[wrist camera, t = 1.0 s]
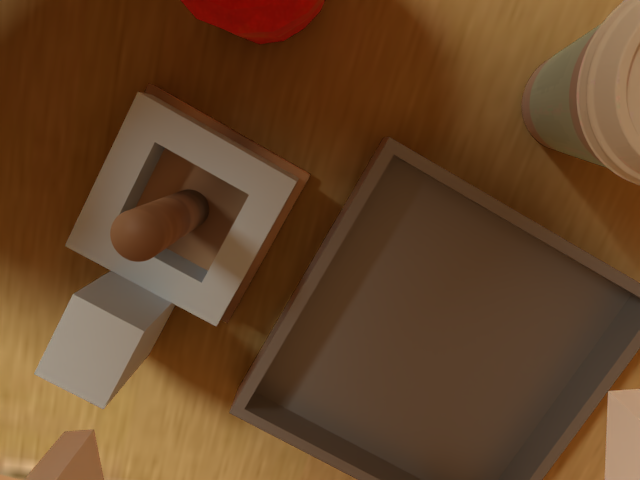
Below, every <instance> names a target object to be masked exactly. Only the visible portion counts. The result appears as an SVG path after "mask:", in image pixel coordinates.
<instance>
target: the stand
mask: <svg viewBox="0 0 640 480" xmlns="http://www.w3.org/2000/svg"><path fill="white" fill-rule="evenodd" d="M144 93H146V94H150V95H153V96H155V97H157V98H159V99H160V100H162V101H164V102H166V103H168V104H169V105H171V106H173V107H175V108H176V109H178V110H180V111H182V112H183V113H185V114H187V115H189V116H190V117H192V118H194V119H196V120H198V121H199V122H201V123H203V124H205V125H206V126H208V127H210V128H212V129H213V130H215V131H217V132H219V133H220V134H222V135H224V136H226V137H227V138H229V139H231V140H233V141H235V142H236V143H238V144H240V145H242V146H243V147H245V148H247V149H249V150H250V151H252V152H254V153H256V154H257V155H259V156H261V157H263V158H265V159H266V160H268V161H270V162H272V163H273V164H275V165H277V166H279V167H280V168H282V169H284V170H286V171H287V172H289V173H291V174H293V175H294V176H296V177H298V178H299V180H298V181H297V183H296V185H295V187H294V189H293V190H292V192H291V194H290V196H289V198H288V199H287V201H286V203H285V205H284V207H283V208H282V210H281V212H280V214H279V216H278V217H277V219H276V221H275V223H274V225H273V226H272V228H271V230H270V232H269V234H268V235H267V237H266V239H265V241H264V243H263V244H262V246H261V248H260V250H259V252H258V253H257V255H256V257H255V259H254V261H253V262H252V264H251V266H250V268H249V270H248V271H247V273H246V275H245V277H244V279H243V280H242V282H241V284H240V286H239V288H238V289H237V291H236V293H235V295H234V297H233V298H232V300H231V302H230V304H229V306H228V307H227V309H226V311H225V313H224V314H223V316H222V318H221V320H222V321H224V322H226V323H228V322H229V320H230V318H231V316H232V314H233V313H234V311H235V309H236V307H237V305H238V304H239V302H240V300H241V298H242V296H243V295H244V293H245V291H246V289H247V288H248V286H249V284H250V282H251V280H252V279H253V277H254V275H255V273H256V271H257V270H258V268H259V266H260V264H261V262H262V261H263V259H264V257H265V255H266V254H267V252H268V250H269V248H270V246H271V245H272V243H273V241H274V239H275V237H276V236H277V234H278V232H279V230H280V229H281V227H282V225H283V223H284V221H285V220H286V218H287V216H288V214H289V212H290V211H291V209H292V207H293V205H294V203H295V202H296V200H297V198H298V196H299V195H300V193H301V191H302V189H303V187H304V186H305V184H306V182H307V180H308V178H309V177H310V175H311V174H310V173H308V172H306V171H304V170H303V169H301V168H299V167H297V166H296V165H294V164H292V163H290V162H289V161H287V160H285V159H283V158H282V157H280V156H278V155H276V154H275V153H273V152H271V151H269V150H267V149H266V148H264V147H262V146H260V145H259V144H257V143H255V142H253V141H252V140H250V139H248V138H246V137H245V136H243V135H241V134H239V133H238V132H236V131H234V130H232V129H231V128H229V127H227V126H225V125H224V124H222V123H220V122H218V121H217V120H215V119H213V118H211V117H209V116H208V115H206V114H204V113H202V112H201V111H199V110H197V109H195V108H194V107H192V106H190V105H188V104H187V103H185V102H183V101H181V100H180V99H178V98H176V97H174V96H173V95H171V94H169V93H167V92H166V91H164V90H162V89H160V88H159V87H157V86H155V85H153V84H150V83H149V84H148V86H147V88H146V90H145V92H144ZM248 196H249V194H247V193H245V192H243V191H241V190H240V189H238V188H236V187H234V186H233V185H231V184H229V183H227V182H225V181H224V180H222V179H220V178H218V177H216V176H215V175H213V174H211V173H209V172H208V171H206V170H204V169H202V168H200V167H199V166H197V165H195V164H193V163H191V162H190V161H188V160H186V159H184V158H182V157H181V156H179V155H177V154H175V153H174V152H172V151H170V150H168V149H166V148H165V149H164V151H163V153H162V155H161V157H160V159H159V161H158V163H157V165H156V167H155V169H154V171H153V173H152V175H151V177H150V179H149V181H148V183H147V185H146V187H145V189H144V191H143V193H142V195H141V197H140V199H139V201H138V203H137V205H136V207H135V208H133V209H130V210H127V211H125V212H123V213H121V214H120V215H118V216H117V217H116V218H115V220H114V221H113V223H112V226H111V230H110V238H111V242H112V245H113V247H114V248H115V250H116V251H117V252H118V253H119V254H120V255H121V256H122V257H124V258H125V259H128V260H130V261H134V262H143V261H147V260H149V259H151V258H153V257H154V256H156V255H157V254H159V253H160V252H162V251H163V250H165V249H166V248H167V249H169V250H170V251H172V252H174V253H176V254H178V255H180V256H182V257H183V258H185V259H187V260H189V261H191V262H193V263H194V264H196V265H198V266H200V267H202V268H204V269H206V270H207V271H208V270H209V268H210V266H211V265H212V263H213V261H214V259H215V257H216V255H217V253H218V252H219V250H220V248H221V246H222V244H223V242H224V240H225V239H226V237H227V235H228V233H229V231H230V229H231V227H232V226H233V224H234V222H235V220H236V218H237V216H238V214H239V213H240V211H241V209H242V207H243V205H244V203H245V201H246V200H247V198H248Z"/></svg>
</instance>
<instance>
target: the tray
mask: <svg viewBox="0 0 640 480" xmlns="http://www.w3.org/2000/svg"><path fill="white" fill-rule="evenodd" d="M639 349H640V283H639V282H637V281H635V280H633V279H632V278H630V277H628V276H627V275H625V274H623V273H621V272H620V271H618V270H616V269H615V268H613V267H611V266H609V265H608V264H606V263H604V262H603V261H601V260H599V259H597V258H596V257H594V256H592V255H591V254H589V253H587V252H585V251H584V250H582V249H580V248H579V247H577V246H575V245H573V244H572V243H570V242H568V241H567V240H565V239H563V238H561V237H560V236H558V235H556V234H555V233H553V232H551V231H549V230H548V229H546V228H544V227H543V226H541V225H539V224H538V223H536V222H534V221H532V220H531V219H529V218H527V217H526V216H524V215H522V214H520V213H519V212H517V211H515V210H514V209H512V208H510V207H508V206H507V205H505V204H503V203H502V202H500V201H498V200H496V199H495V198H493V197H491V196H490V195H488V194H486V193H484V192H483V191H481V190H479V189H478V188H476V187H474V186H472V185H471V184H469V183H467V182H466V181H464V180H462V179H460V178H459V177H457V176H455V175H454V174H452V173H450V172H448V171H447V170H445V169H443V168H442V167H440V166H438V165H436V164H435V163H433V162H431V161H430V160H428V159H426V158H425V157H423V156H421V155H419V154H418V153H416V152H414V151H413V150H411V149H409V148H407V147H406V146H404V145H402V144H401V143H399V142H397V141H395V140H394V139H392V138H390V137H384V138H383V139H382V141H381V143H380V144H379V146H378V148H377V150H376V151H375V153H374V155H373V157H372V158H371V160H370V162H369V163H368V165H367V167H366V169H365V170H364V172H363V174H362V176H361V177H360V179H359V181H358V182H357V184H356V186H355V188H354V189H353V191H352V193H351V195H350V196H349V198H348V200H347V201H346V203H345V205H344V207H343V208H342V210H341V212H340V214H339V215H338V217H337V219H336V220H335V222H334V224H333V226H332V227H331V229H330V231H329V233H328V234H327V236H326V238H325V239H324V241H323V243H322V245H321V246H320V248H319V250H318V251H317V253H316V255H315V257H314V258H313V260H312V262H311V264H310V265H309V267H308V269H307V270H306V272H305V274H304V276H303V277H302V279H301V281H300V283H299V284H298V286H297V288H296V289H295V291H294V293H293V295H292V296H291V298H290V300H289V302H288V303H287V305H286V307H285V308H284V310H283V312H282V314H281V315H280V317H279V319H278V321H277V322H276V324H275V326H274V327H273V329H272V331H271V333H270V334H269V336H268V338H267V339H266V341H265V343H264V345H263V346H262V348H261V350H260V352H259V353H258V355H257V357H256V358H255V360H254V362H253V364H252V365H251V367H250V369H249V371H248V372H247V374H246V376H245V377H244V379H243V381H242V383H241V384H240V386H239V388H238V390H237V393H236V395H235V398H234V401H233V404H232V406H231V409H230V412H229V413H230V414H232V415H234V416H236V417H238V418H240V419H242V420H244V421H246V422H248V423H250V424H252V425H254V426H255V427H257V428H259V429H261V430H263V431H265V432H267V433H269V434H271V435H273V436H275V437H277V438H279V439H281V440H283V441H284V442H286V443H288V444H290V445H292V446H294V447H296V448H298V449H300V450H302V451H304V452H306V453H308V454H310V455H311V456H313V457H315V458H317V459H319V460H321V461H323V462H325V463H327V464H329V465H331V466H333V467H335V468H337V469H338V470H340V471H342V472H344V473H346V474H348V475H350V476H352V477H354V478H356V479H358V480H542V479H543V478H544V477H545V475H546V474H547V473H548V471H549V470H550V469H551V467H552V466H553V465H554V463H555V462H556V460H557V459H558V458H559V456H560V455H561V454H562V452H563V451H564V450H565V448H566V447H567V446H568V444H569V443H570V442H571V440H572V439H573V438H574V436H575V435H576V434H577V432H578V431H579V429H580V428H581V427H582V425H583V424H584V423H585V421H586V420H587V419H588V417H589V416H590V415H591V413H592V412H593V411H594V409H595V408H596V407H597V405H598V404H599V403H600V401H601V400H602V398H603V397H604V396H605V394H606V393H607V392H608V390H609V389H610V388H611V386H612V385H613V384H614V382H615V381H616V380H617V378H618V377H619V376H620V374H621V373H622V372H623V370H624V369H625V367H626V366H627V365H628V363H629V362H630V361H631V359H632V358H633V357H634V355H635V354H636V353H637V351H638V350H639Z"/></svg>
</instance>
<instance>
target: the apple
mask: <svg viewBox="0 0 640 480" xmlns="http://www.w3.org/2000/svg"><path fill="white" fill-rule="evenodd" d="M180 1H181V2H182V3H183V4H184V5H185V6H186V7H187V8H188V10H189V11H190V12H191V13H192V14H193V15H194V16H195V18H196V19H199V20H201V21H204V22H206V23H209V24H211V25H214V26H217V27H219V28H222V29H224V30H226V31H229V32H231V33H233V34H235V35H237V36H239V37H241V38H245V39H247V40H250V41H252V42H255V43H257V44H265V43H272V42H280V41H284V40H286V39H288V38H289V37H291V36H293V35H294V34H296V33H298V32H299V31H301V30H303V29H304V28H305V27H306V26H307V25H308V24H309V23H310V22H311V21H312V20H313V19H314V18H315V16H316V15H317V14H318V13H319V12H320V11H321V9H322V6H323V4H324V2H325V0H180Z"/></svg>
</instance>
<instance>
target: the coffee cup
mask: <svg viewBox="0 0 640 480" xmlns="http://www.w3.org/2000/svg"><path fill="white" fill-rule="evenodd" d="M522 115H523V119H524V122H525V125H526V127H527V129H528V131H529V132H530V133H531V135H532V136H533V137H534V138H535V139H536V140H537V141H538V142H539V143H541V144H542V145H544V146H546V147H548V148H551V149H554V150H557V151H559V152H562V153H565V154H568V155H571V156H574V157H577V158H580V159H583V160H585V161H588V162H591V163H594V164H597V165H600V166H603V167H606V168H608V169H610V170H611V171H612V172H614V173H615V174H616V175H618V176H620V177H621V178H623V179H625V180H627V181H629V182H632V183H634V184H637V185H640V0H624V1H623V2H622V3H621V4H620V5H618V6H617V7H616V8H615V9H614V10H613V11H612V12H611V13H610V14H609V16H608V17H607V18H606V19H605V20H604V21H603V23H602V24H600V25H599V26H597V27H596V28H594V29H593V30H591V31H590V32H588V33H587V34H585V35H584V36H582V37H581V38H579V39H578V40H576V41H575V42H573V43H572V44H570V45H569V46H567V47H566V48H564V49H563V50H561V51H560V52H558V53H557V54H555V55H554V56H553V57H551V58H550V59H548V60H547V61H545V62H544V63H543V64H541V65H540V66H539V67H538V68H537V69H536V70H535V72H534V73H533V74H532V76H531V77H530V79H529V80H528V82H527V84H526V87H525V90H524V93H523V97H522Z"/></svg>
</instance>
